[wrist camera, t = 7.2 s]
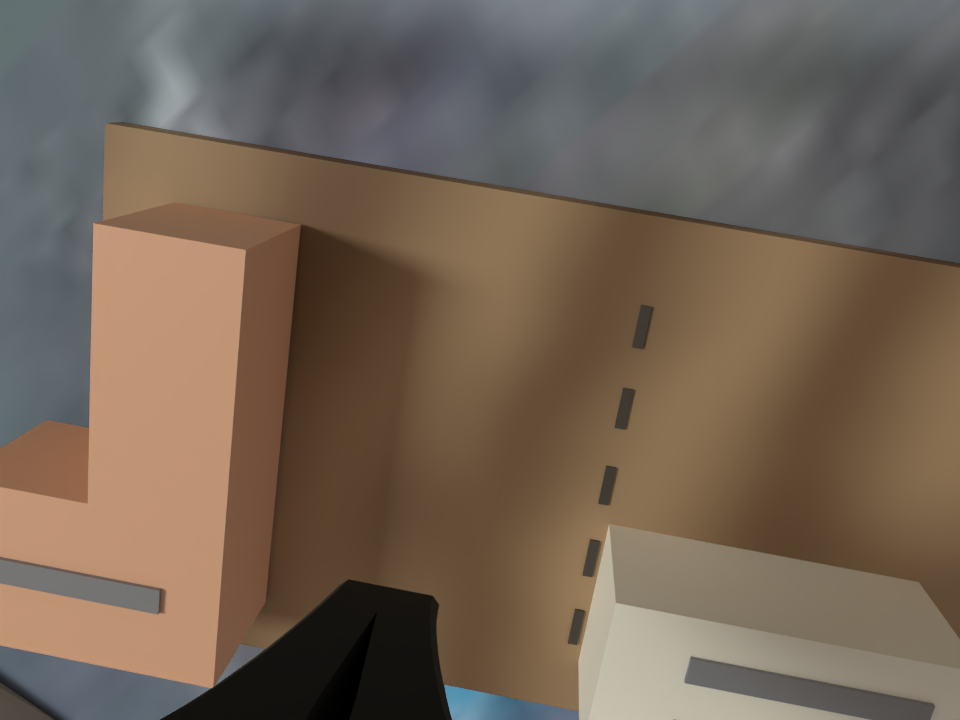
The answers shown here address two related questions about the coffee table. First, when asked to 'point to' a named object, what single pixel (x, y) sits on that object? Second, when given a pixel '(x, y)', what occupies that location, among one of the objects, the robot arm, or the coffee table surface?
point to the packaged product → (18, 707)
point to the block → (158, 453)
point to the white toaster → (758, 638)
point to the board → (572, 396)
